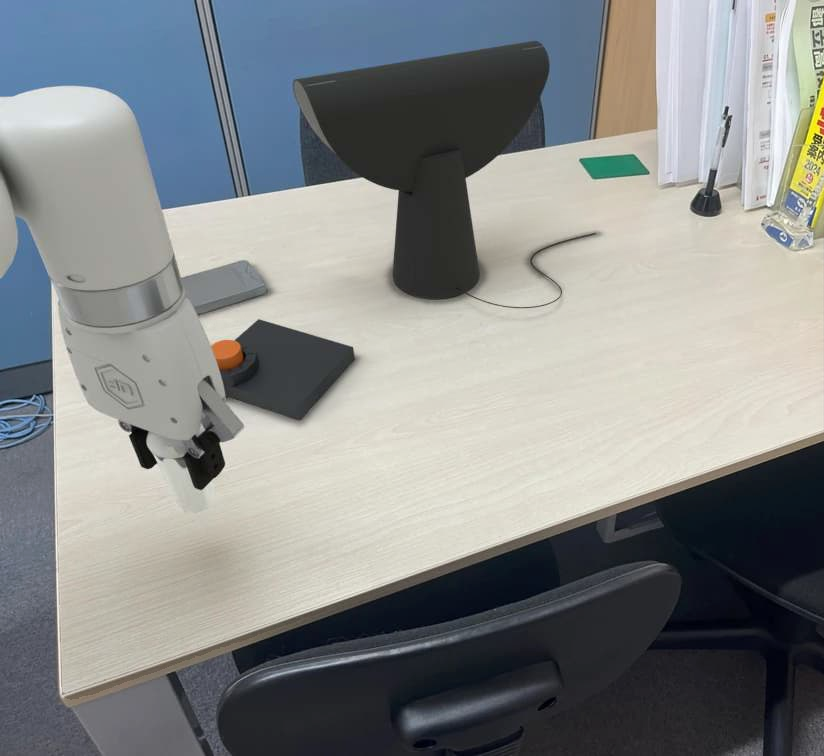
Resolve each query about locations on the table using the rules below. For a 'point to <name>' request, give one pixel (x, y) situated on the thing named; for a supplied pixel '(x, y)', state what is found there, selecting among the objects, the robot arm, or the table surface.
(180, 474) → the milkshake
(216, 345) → the button
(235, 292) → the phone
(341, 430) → the table surface
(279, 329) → the dark grey flat block
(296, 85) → the table lamp
